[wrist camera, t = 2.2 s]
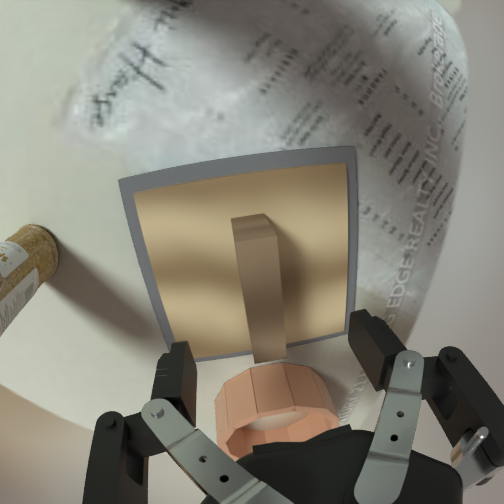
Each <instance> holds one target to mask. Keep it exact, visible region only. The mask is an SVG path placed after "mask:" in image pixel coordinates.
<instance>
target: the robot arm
mask: <svg viewBox="0 0 504 504" xmlns="http://www.w3.org/2000/svg"><path fill="white" fill-rule="evenodd" d="M348 341H349V345H350V347H351V349H352V351H353V352H354V354H355V356H356V357H357V359H358V361H359V363H360V364H361V366H362V368H363V369H364V371H365V373H366V375H367V376H368V378H369V380H370V382H371V383H372V385H373V387H374V389H375V390H376V392H377V391H380V390H383V389H384V390H385V392H386V394H385V398H384V401H383V405H382V408H381V411H380V415H379V418H378V421H377V424H376V427H375V430H374V432H371V431H366V430H352V429H351V427H350V424H348V425H344V426H341V427H337V428H334V429H330V430H327V431H325V432H323V433H321V434H319V435H317V436H315V437H313V438H310V439H308V440H306V441H303V442H272V443H266V444H260V445H253V446H252V448H253V452H251V453H249V454H247V455H245V456H243V457H241V458H239V459H238V460H237V461H234V460H233V459H232V458H231V457H229V456H228V455H227V454H226V453H225V452H224V451H223V450H221V449H220V448H219V447H218V446H217V445H216V444H215V443H214V442H213V441H211V440H210V439H209V438H208V437H207V436H206V435H205V434H204V433H203V432H202V431H201V430H199V429H195V427H196V391H197V369H196V364H195V361H194V358H193V355H192V352H191V349H190V346H189V343H188V341H179V342H172V344H171V350H170V353H164V354H163V355H162V356H161V357H160V359H159V360H158V363H157V368H156V370H157V371H156V373H155V379H154V384H153V389H152V395H151V400H150V401H149V402H147V403H146V404H145V405H144V406H143V408H142V410H141V412H139V413H136V414H133V415H129V416H126V417H123V416H122V415H121V414H120V413H118V412H115V411H110V412H106V413H104V414H102V415H101V416H100V417H99V418H98V420H97V422H96V426H95V430H94V435H93V440H92V445H91V451H90V456H89V461H88V468H87V473H86V480H85V487H84V494H83V502H82V504H148V460H149V456H153V455H156V454H159V453H163V452H167V453H168V454H169V455H170V457H171V458H172V459H173V460H174V461H175V462H176V464H177V465H178V466H179V467H180V468H181V469H182V470H183V471H184V472H185V473H186V474H187V476H188V477H189V478H190V479H191V480H192V481H193V482H194V483H195V484H196V486H197V487H198V488H199V489H200V490H201V491H202V492H203V493H204V494H205V495H206V498H205V499H204V500H203V501H202V503H201V504H463V503H462V499H463V498H462V497H463V492H465V491H466V490H468V489H470V488H471V487H473V486H474V485H483V484H485V483H487V482H488V481H489V480H490V479H491V478H493V477H494V476H495V475H496V474H497V473H498V472H499V471H501V470H502V469H503V468H504V405H503V404H502V403H501V401H500V400H499V398H498V397H497V395H496V394H495V393H494V391H493V390H492V389H491V387H490V386H489V385H488V383H487V382H486V381H485V379H484V378H483V377H482V376H481V375H480V373H479V372H478V370H477V369H476V368H475V367H474V365H473V364H472V363H471V362H470V361H469V359H468V358H467V357H466V356H465V354H464V353H463V352H462V351H461V350H460V349H458V348H456V347H452V346H448V347H444V348H442V349H441V350H440V352H439V355H438V356H434V357H422V356H421V354H419V353H418V352H416V351H412V350H407V349H406V347H405V346H404V345H403V344H402V342H401V341H400V340H399V338H398V337H397V336H396V335H395V334H394V333H393V331H392V330H391V329H390V328H389V326H388V325H387V324H386V322H385V321H384V320H382V319H380V318H379V317H377V316H374V317H372V316H371V315H370V314H369V312H368V311H367V310H366V309H362V310H358V311H354V312H351V313H350V319H349V331H348ZM424 399H426V401H427V402H428V404H429V406H430V407H431V409H432V411H433V413H434V414H435V416H436V418H437V420H438V421H439V423H440V425H441V426H442V428H443V430H444V432H445V434H446V436H447V438H448V439H449V441H450V443H451V445H452V447H453V449H452V451H451V457H450V458H451V465H452V466H450V465H448V464H446V463H443V462H441V461H438V460H435V459H433V458H430V457H428V456H426V455H423V454H421V453H418V452H416V451H414V450H412V449H411V448H412V444H413V440H414V435H415V431H416V426H417V421H418V416H419V410H420V404H421V400H424Z"/></svg>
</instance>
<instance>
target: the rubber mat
mask: <svg viewBox="0 0 504 504" xmlns="http://www.w3.org/2000/svg"><path fill="white" fill-rule="evenodd" d="M340 162H343V163H346V171H347V196H348V270H347V295H346V312H345V326H344V331H341V332H337V333H333V334H329V335H325V336H320V337H316V338H312V339H307V340H302V341H298V342H293V343H288V344H286V348H288V347H293V346H297V345H302V344H307V343H311V342H316V341H320V340H325V339H329V338H333V337H337V336H341V335H345V334H348V331H349V319H350V313H351V312H354V299H355V284H356V263H357V175H356V155H355V146H340V147H323V148H310V149H298V150H287V151H278V152H269V153H260V154H252V155H245V156H237V157H230V158H224V159H217V160H211V161H205V162H199V163H194V164H188V165H183V166H177V167H172V168H167V169H162V170H158V171H153V172H148V173H144V174H139V175H135V176H131V177H127V178H122V179H120V180H118V182H119V187H120V192H121V196H122V201H123V205H124V209H125V213H126V217H127V221H128V225H129V229H130V233H131V237H132V240H133V244H134V248H135V251H136V255H137V258H138V262H139V265H140V268H141V272H142V275H143V278H144V281H145V284H146V288H147V291H148V294H149V297H150V300H151V303H152V306H153V309H154V311H155V314H156V317H157V320H158V323H159V325H160V328H161V331H162V333H163V336H164V339H165V341H166V344H167V347H168V349H169V352H170V350H171V344H172V342H176V341H175V338H174V335H173V332H172V329H171V327H170V324H169V321H168V318H167V315H166V312H165V309H164V306H163V303H162V299H161V296H160V293H159V290H158V287H157V283H156V280H155V277H154V273H153V270H152V266H151V263H150V259H149V256H148V252H147V248H146V245H145V241H144V237H143V233H142V229H141V225H140V221H139V217H138V213H137V208H136V204H135V199H134V195H133V194H135V193H136V192H140V191H145V190H149V189H154V188H159V187H164V186H169V185H174V184H180V183H185V182H190V181H196V180H202V179H208V178H214V177H220V176H226V175H233V174H240V173H247V172H254V171H262V170H269V169H278V168H286V167H296V166H305V165H316V164H328V163H340ZM249 354H253V351H252V350H249V351H243V352H237V353H230V354H224V355H216V356H209V357H201V358H194V361H195V362H201V361H209V360H216V359H223V358H230V357H237V356H243V355H249Z"/></svg>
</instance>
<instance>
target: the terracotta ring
mask: <svg viewBox="0 0 504 504" xmlns="http://www.w3.org/2000/svg"><path fill="white" fill-rule="evenodd" d="M215 414H216V433H217V444H218V446H219V448H220V449H221V450H223V451H224V452H225V453H226V454H227V455H228V456H229V457H231V458H232V459H233V460H235V461H237V460H238V459H239V458H241V457H243V456H245V455H247V454H249V453H251V452H253V448H252V446H253V445H260V444H266V443H272V442H303V441H306V440H308V439H310V438H313V437H315V436H317V435H319V434H321V433H323V432H325V431H327V430H330V429H334V428H337V427H338V426H339V421H340V419H339V416H338V414H337V411H336V409H335V407H334V404H333V402H332V399H331V397H330V394H329V392H328V390H327V387H326V385H325V382H324V380H323V379H322V378H321V377H320V376H319V375H318V374H317V373H316V372H314V371H313V370H312V369H311V368H310V367H306V366H300V365H295V364H289V363H284V362H283V363H282V362H281V363H276V364H271V365H265V366H260V367H254V368H249V369H248V370H246V371H244V372H243V373H241V374H239V375H237V376H236V377H234V378H232V379H230V380H229V381H227V382H225V383H224V385H223V387H222V388H221V390H220V392H219V394H218V396H217V397H216V399H215Z"/></svg>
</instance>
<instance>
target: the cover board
mask: <svg viewBox="0 0 504 504" xmlns="http://www.w3.org/2000/svg"><path fill="white" fill-rule="evenodd" d="M133 195H134V199H135V204H136V208H137V213H138V217H139V221H140V225H141V229H142V233H143V237H144V241H145V245H146V248H147V252H148V256H149V259H150V263H151V266H152V270H153V273H154V277H155V280H156V283H157V287H158V290H159V293H160V296H161V299H162V303H163V306H164V309H165V312H166V315H167V318H168V321H169V324H170V327H171V329H172V332H173V335H174V338H175V341H176V342H179V341H188V343H189V346H190V349H191V352H192V355H193V358H201V357H209V356H216V355H224V354H230V353H237V352H243V351H249V350H252V351H253V356H254V362H255V364H256V363H262V362H268V361H273V360H278V359H283V358H287V351H286V344H288V343H293V342H298V341H302V340H307V339H312V338H316V337H320V336H325V335H329V334H333V333H337V332H341V331H344V326H345V312H346V295H347V270H348V196H347V171H346V163H343V162H340V163H328V164H316V165H305V166H296V167H286V168H278V169H269V170H262V171H254V172H247V173H240V174H233V175H226V176H220V177H214V178H208V179H202V180H196V181H190V182H185V183H180V184H174V185H169V186H164V187H159V188H154V189H149V190H145V191H140V192H136V193H135V194H133Z"/></svg>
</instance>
